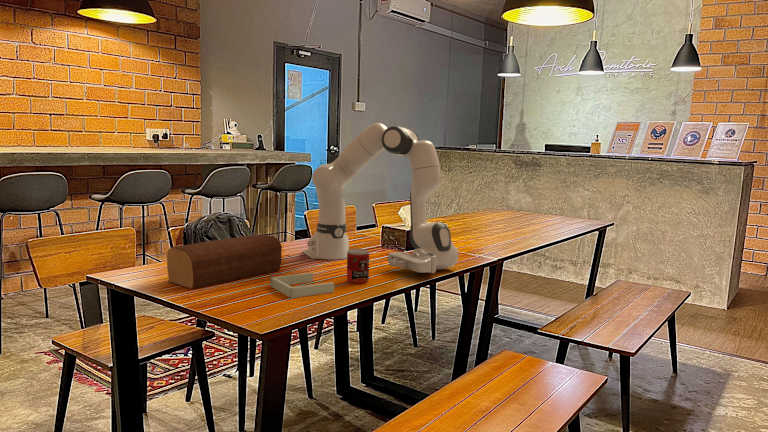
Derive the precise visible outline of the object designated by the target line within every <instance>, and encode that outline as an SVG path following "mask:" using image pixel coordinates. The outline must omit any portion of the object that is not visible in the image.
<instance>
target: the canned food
mask: <svg viewBox="0 0 768 432" xmlns="http://www.w3.org/2000/svg"><path fill="white" fill-rule="evenodd" d="M369 271H370V250H368V249H365V248H349V250H348V252H347V258H346V280H347V283H349V284H351V285H352V284H353V285H363V284H368V283H369V278H370V277H369V276H370V273H369Z"/></svg>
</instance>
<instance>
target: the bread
mask: <svg viewBox="0 0 768 432" xmlns="http://www.w3.org/2000/svg"><path fill="white" fill-rule="evenodd" d="M282 250H283V249H282V243H281V241H280V240H279V239H278V237H275V236H273V235H269V234H264V233H263V234H262V233H259V234H251V235H250V234H249V235H243V236H238V237H231V238H224V239H216V240H209V241H203V242H197V243H190V244H184V245H176V246H172V247H169V248H168V250H167V254H166V262H167V265H166V267H167V275H168V283H171V284H174V285H176V286H180V287H185V288H187V289H190V290H196V289H200V288H206V287H210V286H213V285H219V284H223V283H224V284H225V283H228V282H234V281H237V280H243V279H246V278H250V277H256V276H260V275H261V276H262V275H265V274H269V273H274V272H279V271H280V270H281V266H282Z"/></svg>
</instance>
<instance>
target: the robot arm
mask: <svg viewBox="0 0 768 432" xmlns="http://www.w3.org/2000/svg"><path fill="white" fill-rule="evenodd" d="M419 137H420V136H419V135H418V134H417V133H416V132H415V131H413V130H411V129H409V128H407V127H403V126H399V125H393V126H390V127H387V126H386V125H385V124H383V123H381V122H375V123H373V124H371V125H370V126H368V127H367V128H365V129H364V130H362V131H361V132H360V133H359V134H358V135H356V136H355V138H353V139H352V140H351V141H350V142H349V143H348V144H347V145H346V146H345V147H344V148H343V149H342V151H341V152H340V154H339V155H338V157H336V159H334V160H333V161H332V162H330V163H324V164H322V165H320V166H318V167H317V168H316V169H315V170H314V171H313V173H312V175H311V180H312V183H313V185H314V187H315V191H316V196H317V201H318V223H317V224H316V230H315V233H313V235H311V237H309V239H308V241H307V247H308V248H304V249H303V250H302V253H303V254H305V255H306V256H307V257H309V258H311V259H312V260H313V259H315V260H317V259H319V260H329V261H330V260H344V259H347V252H348V250H350V244H349V236H348V235H347V233H346V232H347V228H348V227H347V223H346V207H347V206H346V202H345V199H344V195H343V191H342V190H343V189H344V188H346V187H347V186H348V185H349V184H350V183H351V181H353V180H354V178H355V177H356V176H357V175H358V174H359V172H360V171H362V169H363V168H365V167H366V166H367V165H368V164H369V163H370V162H371V161H372V160H374V159H375V158H376V157H377V156H378V155H379V154H380V153H381V152H383V151H384V150H386V152H388V153H390V154H393V155H395V156H400V157H407V158H408V160H409V163H410V169H411V179H412V180H411V189H410V192H409V193H410V195H409V206H410V207H409V208H410V210H409V211H410V229H409V235H408V236H409V238H408V239H409V241H410V242H409V243H410V244H411V246H412V248H413V249H414V250H413V251H412V253H408V252H405V251H393V252H392V251H390V252H388V253H387V263H388V265H389V266H392V267H395V268H396V267H399V268H405V269H407V270H409V271H413V272H416V273H421V274H423V273H427V274H428V273H429V274H434V273H436V271H437V270H444V269H448V268H451V267H453V266H455V265H456V264H457V262H458V260H459V254H460V253H459V250H458V248H457V247H456V246H455V245H454V243H453V241H452V237H451V236H452V235H451V231H450V228H449V227H448V225H446V223H444V222H440V221H437V222H431V223H427V214H426V205H427V204H426V203H427V201H428V199H429V197H430V195H431V194H432V193H433V192H434V191H436V190H437V189H438V187H439V186H440V184H441V180H442V171H441V168H440V167H441V166H440V161H439V156H438V153H437V150H436V148H435V145H434V144H433V142H432V141H430V140H425V139H421V140H420V138H419Z"/></svg>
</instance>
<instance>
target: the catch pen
mask: <svg viewBox="0 0 768 432" xmlns="http://www.w3.org/2000/svg"><path fill="white" fill-rule="evenodd" d="M269 278H270V280H269V281H270V287H271V288H273V289H275V290H276V291H278V292H280V293H281V294H284V296H287V297H288V298H290V299H294V298H302V297H308V296H309V297H310V296H315V295H316V296H317V295H321V294H322V295H323V294H329V293H335V283H334V282H333V281H332V282H331V281H330V282H325V283H317V284H309V285H308V284H307V285H303V286H302V285H301V286H295V287H294V286H292V285H297V284H304V283H305V284H306V283H311V282H313V281H314V273H313V272H304V273H297V274H296V273H295V274H287V275H281V276H280V275H279V276H271V277H269Z"/></svg>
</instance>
